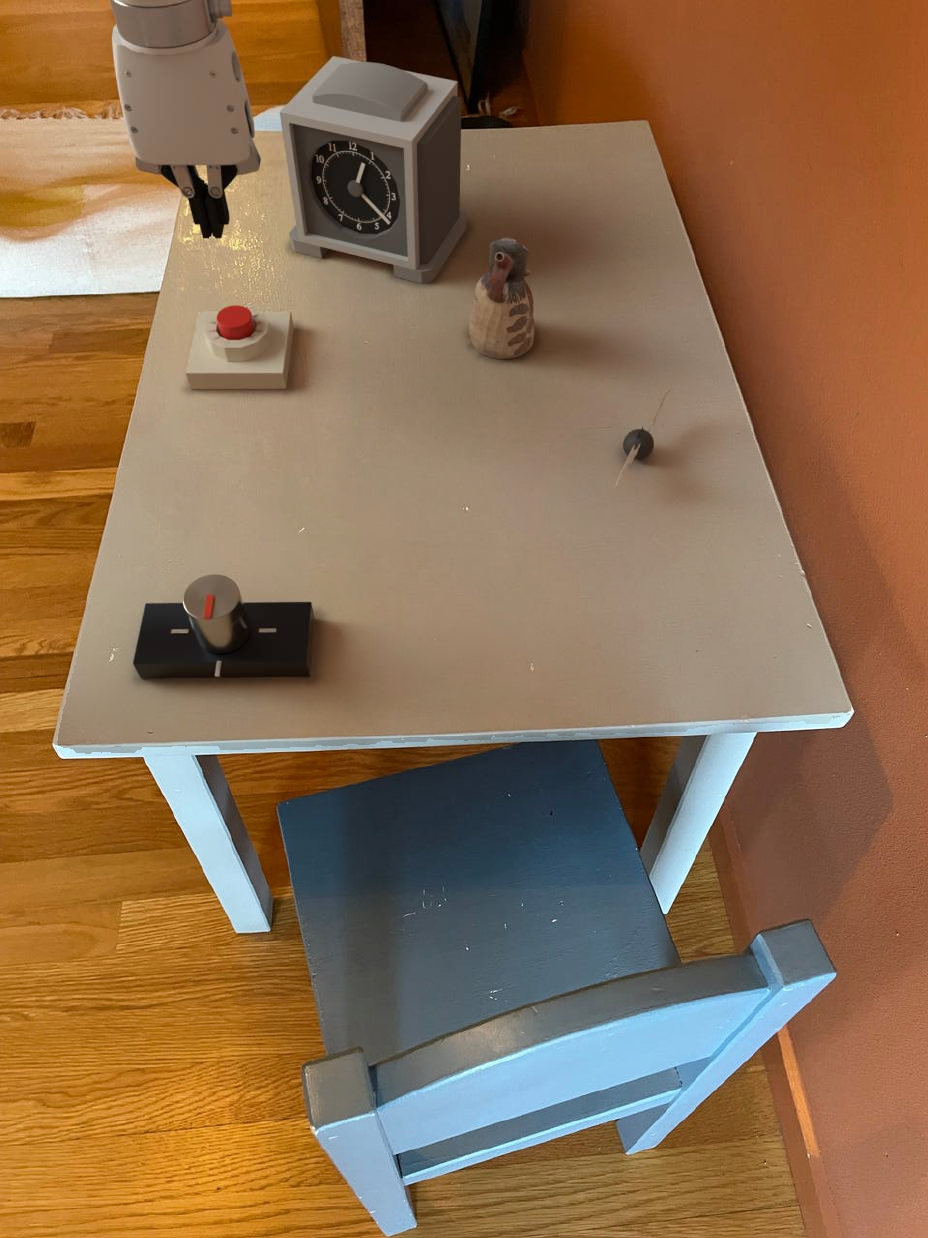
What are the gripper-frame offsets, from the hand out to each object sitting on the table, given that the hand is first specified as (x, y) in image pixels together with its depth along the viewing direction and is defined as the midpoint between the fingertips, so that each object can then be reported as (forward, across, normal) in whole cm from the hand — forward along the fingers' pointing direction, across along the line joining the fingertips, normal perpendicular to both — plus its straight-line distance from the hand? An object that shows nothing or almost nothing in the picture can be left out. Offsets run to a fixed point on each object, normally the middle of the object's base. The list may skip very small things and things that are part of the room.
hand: (214, 229), depth 85 cm
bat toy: (+15, -41, +15) cm, 46 cm away
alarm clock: (+15, -14, -22) cm, 30 cm away
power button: (+11, 0, 0) cm, 11 cm away
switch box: (+15, 0, 0) cm, 15 cm away
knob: (+13, -3, +37) cm, 39 cm away
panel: (+15, -3, +37) cm, 40 cm away
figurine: (+15, -28, -3) cm, 32 cm away
